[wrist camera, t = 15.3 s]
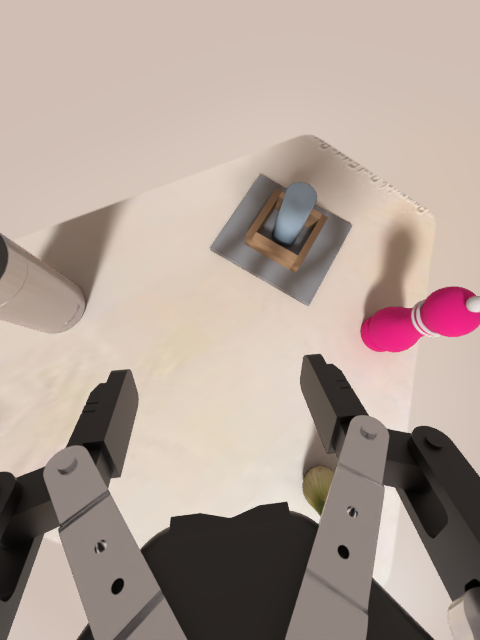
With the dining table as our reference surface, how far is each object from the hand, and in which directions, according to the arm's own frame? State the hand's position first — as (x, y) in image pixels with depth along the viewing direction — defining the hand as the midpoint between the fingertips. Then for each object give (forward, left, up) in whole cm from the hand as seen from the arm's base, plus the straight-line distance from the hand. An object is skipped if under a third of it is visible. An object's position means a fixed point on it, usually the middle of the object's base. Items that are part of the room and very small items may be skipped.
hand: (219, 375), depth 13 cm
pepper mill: (+20, +21, -33) cm, 44 cm away
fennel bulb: (+21, -5, -33) cm, 39 cm away
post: (-3, +28, -32) cm, 42 cm away
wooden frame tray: (-3, +28, -33) cm, 43 cm away
